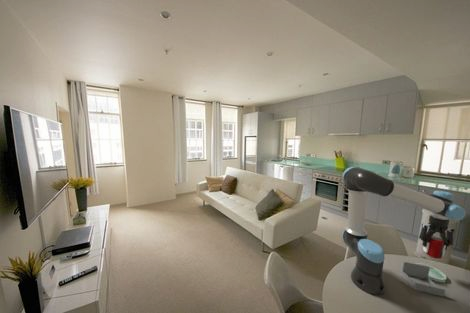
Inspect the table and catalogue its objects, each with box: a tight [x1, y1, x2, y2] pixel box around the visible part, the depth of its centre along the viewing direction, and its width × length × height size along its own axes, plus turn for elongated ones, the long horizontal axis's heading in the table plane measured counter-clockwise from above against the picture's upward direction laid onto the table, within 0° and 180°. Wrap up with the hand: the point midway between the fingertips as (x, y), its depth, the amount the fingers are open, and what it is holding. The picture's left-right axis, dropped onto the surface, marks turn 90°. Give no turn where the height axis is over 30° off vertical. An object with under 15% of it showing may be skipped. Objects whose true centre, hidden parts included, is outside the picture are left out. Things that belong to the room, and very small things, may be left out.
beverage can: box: [424, 234, 444, 259], centre depth 103 cm, size 7×7×12 cm
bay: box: [400, 260, 446, 297], centre depth 97 cm, size 12×12×8 cm
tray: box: [415, 262, 447, 283], centre depth 105 cm, size 13×13×2 cm
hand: (433, 252), depth 104 cm, fingers closed on beverage can, 7 cm apart
